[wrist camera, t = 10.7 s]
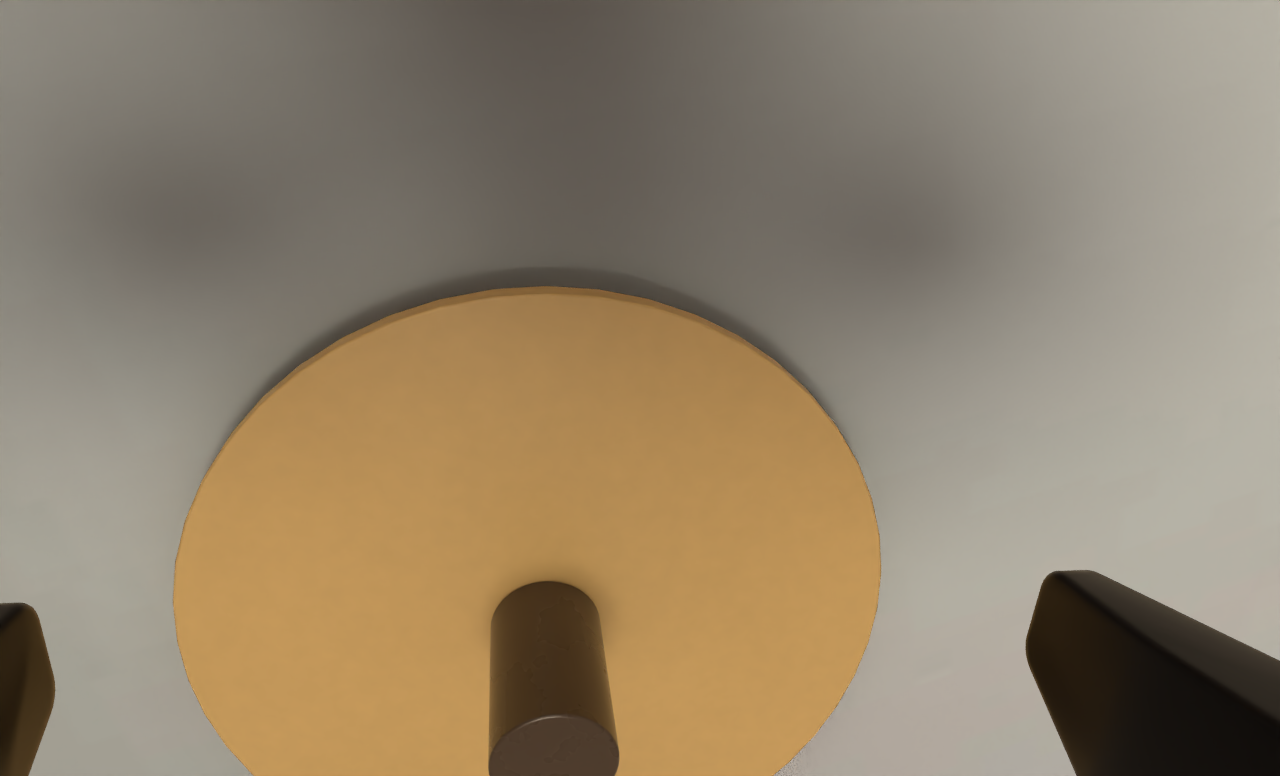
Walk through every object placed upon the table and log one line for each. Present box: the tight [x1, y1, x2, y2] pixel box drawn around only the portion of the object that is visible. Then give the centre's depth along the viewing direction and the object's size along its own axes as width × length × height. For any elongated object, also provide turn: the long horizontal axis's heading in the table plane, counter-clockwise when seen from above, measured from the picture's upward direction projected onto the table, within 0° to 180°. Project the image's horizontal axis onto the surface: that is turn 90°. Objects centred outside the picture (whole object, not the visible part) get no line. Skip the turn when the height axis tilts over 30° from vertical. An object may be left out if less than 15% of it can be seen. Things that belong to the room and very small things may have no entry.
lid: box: [173, 286, 881, 776], centre depth 19 cm, size 15×15×5 cm
